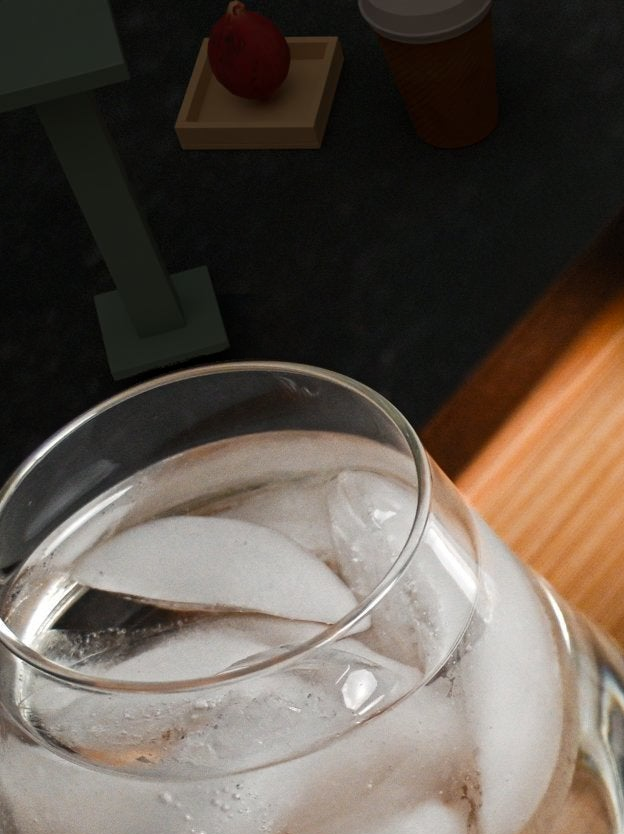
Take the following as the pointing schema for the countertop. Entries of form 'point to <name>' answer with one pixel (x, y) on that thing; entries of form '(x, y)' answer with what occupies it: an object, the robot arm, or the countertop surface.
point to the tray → (264, 103)
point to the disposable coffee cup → (440, 65)
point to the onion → (248, 53)
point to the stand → (104, 181)
